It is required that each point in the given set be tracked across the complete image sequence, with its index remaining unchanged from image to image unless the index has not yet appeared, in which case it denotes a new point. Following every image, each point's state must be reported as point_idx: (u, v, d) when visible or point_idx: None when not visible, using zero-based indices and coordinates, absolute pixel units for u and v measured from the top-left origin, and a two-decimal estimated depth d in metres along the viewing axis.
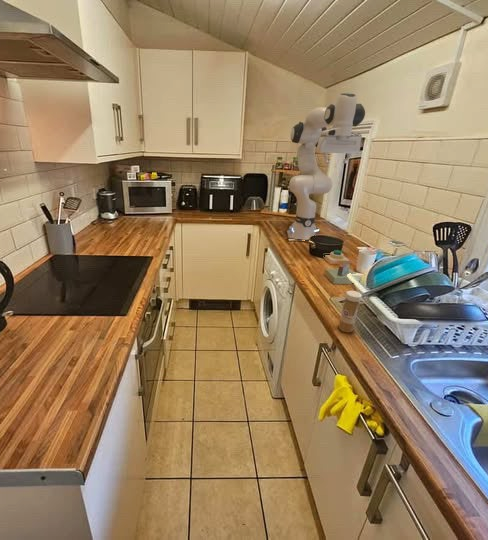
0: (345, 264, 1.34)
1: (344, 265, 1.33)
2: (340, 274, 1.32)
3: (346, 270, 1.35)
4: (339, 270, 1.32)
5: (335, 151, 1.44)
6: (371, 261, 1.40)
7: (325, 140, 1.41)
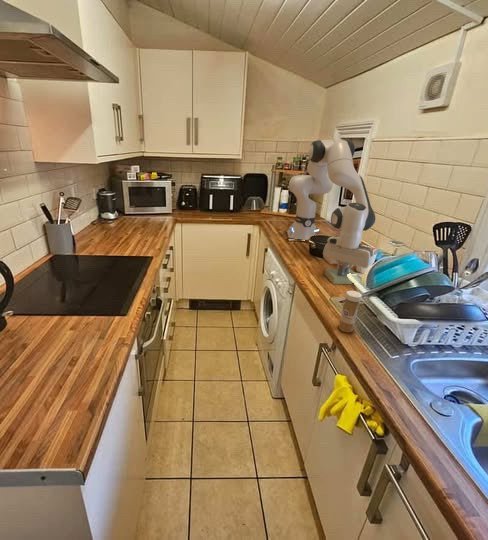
0: (345, 264, 1.34)
1: (344, 265, 1.33)
2: (340, 274, 1.32)
3: None
4: (339, 270, 1.32)
5: (339, 259, 1.33)
6: (371, 261, 1.40)
7: (328, 246, 1.34)
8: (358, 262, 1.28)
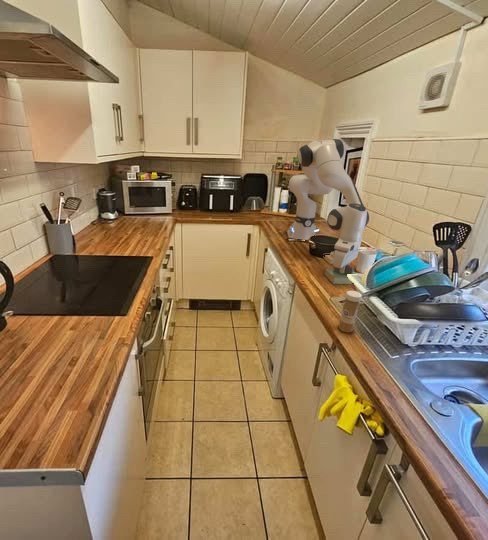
0: None
1: (346, 265, 1.34)
2: None
3: None
4: (352, 271, 1.32)
5: (348, 262, 1.30)
6: (371, 261, 1.40)
7: (345, 256, 1.24)
8: (355, 256, 1.35)
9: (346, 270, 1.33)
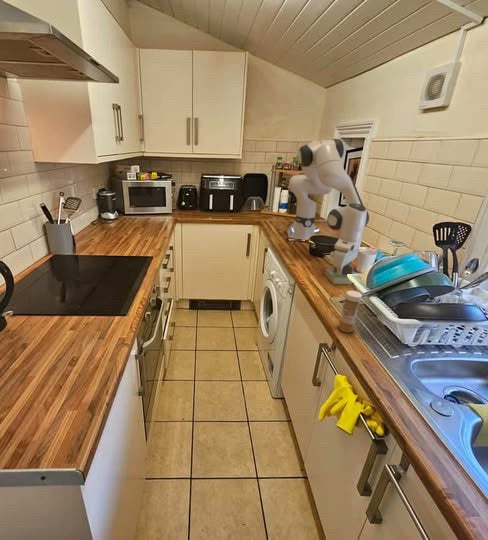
0: None
1: (346, 265, 1.34)
2: None
3: None
4: (352, 271, 1.32)
5: (348, 262, 1.31)
6: (371, 261, 1.40)
7: (345, 256, 1.24)
8: (355, 256, 1.36)
9: (346, 270, 1.33)
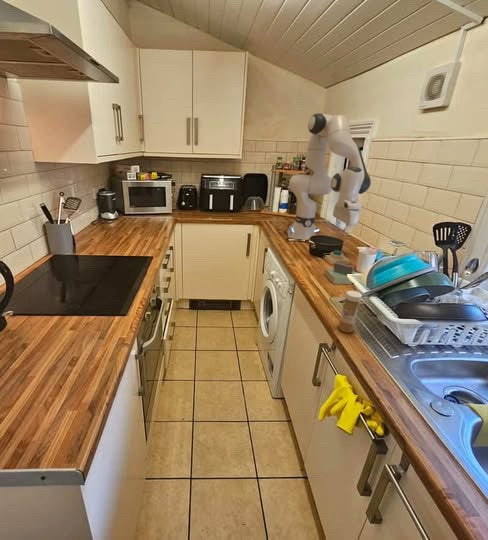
0: (342, 264, 1.34)
1: (346, 265, 1.34)
2: None
3: None
4: (352, 271, 1.32)
5: None
6: (371, 261, 1.40)
7: None
8: None
9: (346, 270, 1.33)
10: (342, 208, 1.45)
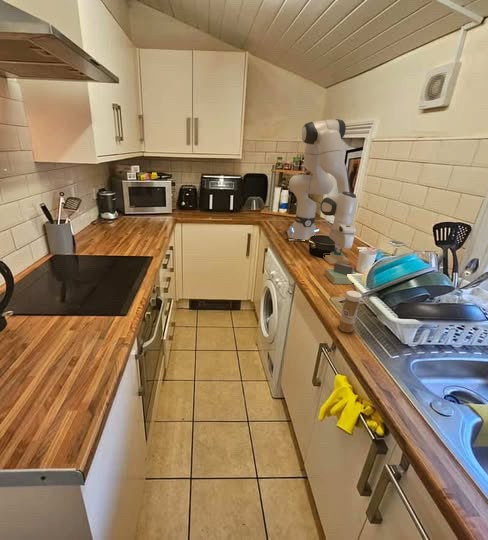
0: (342, 264, 1.34)
1: (346, 265, 1.34)
2: None
3: None
4: (352, 271, 1.32)
5: None
6: (371, 261, 1.40)
7: None
8: None
9: (346, 270, 1.33)
10: (337, 231, 1.50)
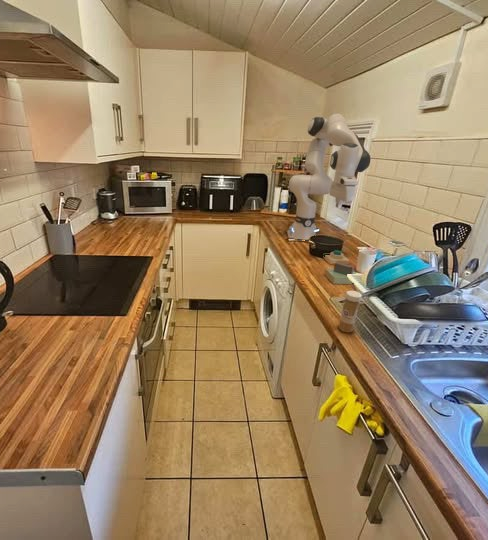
0: (342, 264, 1.34)
1: (346, 265, 1.34)
2: None
3: None
4: (352, 271, 1.32)
5: None
6: (371, 261, 1.40)
7: None
8: None
9: (346, 270, 1.33)
10: (338, 185, 1.45)
